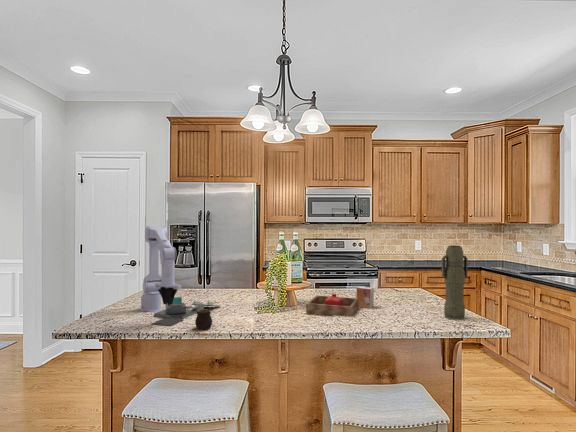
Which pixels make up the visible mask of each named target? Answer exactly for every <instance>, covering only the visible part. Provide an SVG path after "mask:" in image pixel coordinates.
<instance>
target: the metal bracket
mask: <svg viewBox="0 0 576 432" xmlns="http://www.w3.org/2000/svg"><path fill="white" fill-rule="evenodd" d="M195 305H200V308H196V309H195V310H196V311H198V310H200V309H205V308H204V307H212V306H213V307H222V306H221V305H217V304H215V305H214V301H210V300H207V303H206V304H205V303H203V302H201V301H196V300H194V301H193V303H190V304H189V306H195Z"/></svg>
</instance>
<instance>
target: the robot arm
mask: <svg viewBox="0 0 576 432" xmlns="http://www.w3.org/2000/svg"><path fill="white" fill-rule="evenodd" d="M144 237H145V238H144V239H145V242H146V243H148V246H149V247H148V248H149V249H148V252H149V253H148V254H149V256H148V260H149V261H148V265H149V266H148V269H149V270H148V272H149V273H148V274H147V275H146V276H144V278H143V283H142V291H143V293H142V294H141V297H140V310H139V311H140V312H149V313H150V312H151V313H157V312H160V311H162V310H165V307H162V304H163V305H165V304H168V305H171V304H172V303H173V299H174V297H176V296H175V295H176V294H177V292H178V291H179V290H182V284H178V283H176V282H175V276H176V274H175V271H176V270H175V267H176V266H175V261H176V259H177V255H178V254H177V249H176V247H174V246H172V244H171V242H170V240H169V239H167V237H168V228H167V226H165V225H164V226H162V225H161V226H160V225H159V226H154V225H153V226H148V225H147V226H146V227H145V231H144ZM159 261H160V262H159ZM159 264H160V265H161V274H160V273H159V272H160V269H159V267H160V265H159Z"/></svg>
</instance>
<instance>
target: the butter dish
mask: <svg viewBox="0 0 576 432" xmlns="http://www.w3.org/2000/svg"><path fill="white" fill-rule="evenodd" d="M340 297H341V296H337V293H331V297H328V298H326V299H325V302H324V305H337V306H344V302H343V299H342V298H340Z"/></svg>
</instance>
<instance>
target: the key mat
mask: <svg viewBox="0 0 576 432" xmlns="http://www.w3.org/2000/svg"><path fill="white" fill-rule="evenodd" d="M179 322H180V323H182V322H184V319H172V318H162V319H160V320H157V321H154V322H152V323H150V325H152V326H153V325H155V326H164V327H173V326H175V325H177V324H179ZM172 325H173V326H172Z"/></svg>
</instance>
